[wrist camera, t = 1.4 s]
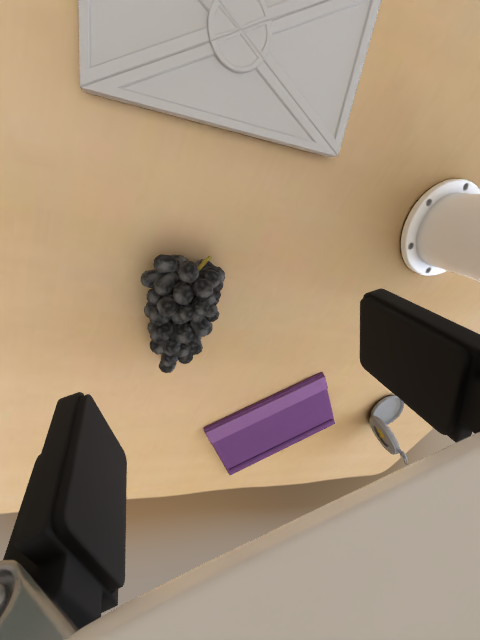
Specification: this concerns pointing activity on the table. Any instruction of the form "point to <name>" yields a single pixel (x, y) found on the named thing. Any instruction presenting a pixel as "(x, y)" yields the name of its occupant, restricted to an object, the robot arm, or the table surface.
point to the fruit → (181, 306)
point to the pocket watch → (381, 417)
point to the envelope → (233, 62)
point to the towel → (272, 424)
